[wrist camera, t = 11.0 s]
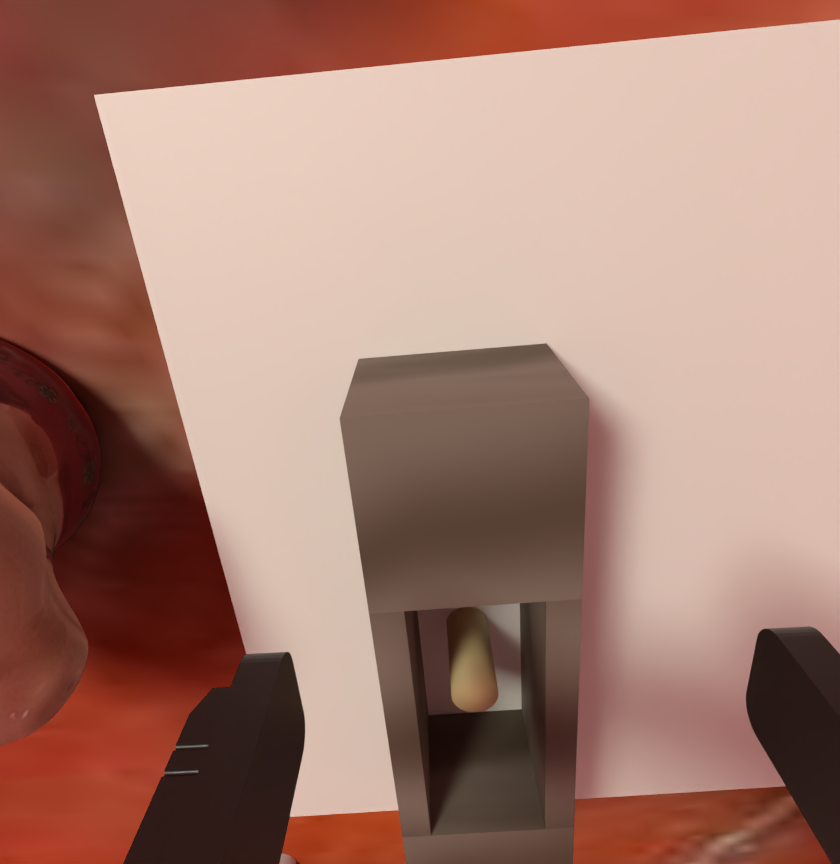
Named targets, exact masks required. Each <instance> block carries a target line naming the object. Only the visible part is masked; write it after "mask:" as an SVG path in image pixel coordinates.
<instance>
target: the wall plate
mask: <svg viewBox="0 0 840 864" xmlns="http://www.w3.org/2000/svg"><path fill="white" fill-rule="evenodd" d="M94 97H95V101H96V104H97V108H98V112H99V115H100V119H101V123H102V126H103V130H104V134H105V137H106V141H107V145H108V148H109V152H110V156H111V159H112V163H113V167H114V170H115V174H116V178H117V181H118V185H119V189H120V192H121V196H122V200H123V203H124V207H125V211H126V215H127V218H128V222H129V226H130V229H131V233H132V237H133V240H134V244H135V248H136V251H137V255H138V259H139V262H140V266H141V270H142V273H143V277H144V281H145V284H146V288H147V292H148V295H149V299H150V303H151V306H152V310H153V314H154V317H155V321H156V325H157V328H158V332H159V336H160V339H161V343H162V347H163V350H164V354H165V358H166V361H167V365H168V369H169V372H170V376H171V380H172V383H173V387H174V391H175V394H176V398H177V402H178V405H179V409H180V413H181V416H182V420H183V424H184V428H185V431H186V435H187V439H188V442H189V446H190V450H191V453H192V457H193V461H194V464H195V468H196V472H197V475H198V479H199V483H200V486H201V490H202V494H203V497H204V501H205V505H206V508H207V512H208V516H209V519H210V523H211V527H212V530H213V534H214V538H215V541H216V545H217V549H218V552H219V556H220V560H221V563H222V567H223V571H224V574H225V578H226V582H227V585H228V589H229V593H230V596H231V600H232V604H233V607H234V611H235V615H236V618H237V622H238V626H239V630H240V633H241V637H242V641H243V644H244V648H245V652H246V654H256V653H275V652H289V653H290V654H291V656H292V660H293V664H294V669H295V673H296V678H297V683H298V687H299V692H300V697H301V701H302V706H303V711H304V717H305V743H304V751H303V756H302V761H301V766H300V770H299V775H298V779H297V784H296V789H295V793H294V798H293V803H292V807H291V812H290V817H294V816H311V815H327V814H343V813H359V812H376V811H392V810H398V803H397V797H396V790H395V783H394V777H393V770H392V764H391V757H390V750H389V744H388V737H387V730H386V724H385V717H384V710H383V704H382V697H381V691H380V684H379V677H378V671H377V664H376V657H375V651H374V644H373V637H372V631H371V624H370V618H369V611H368V604H367V598H366V591H365V584H364V578H363V571H362V564H361V558H360V551H359V545H358V538H357V531H356V525H355V518H354V511H353V505H352V498H351V491H350V485H349V478H348V472H347V465H346V458H345V452H344V445H343V438H342V432H341V425H340V415H341V412H342V409H343V406H344V403H345V400H346V396H347V393H348V390H349V387H350V384H351V381H352V378H353V375H354V371H355V368H356V365H357V362H358V359H362V358H374V357H387V356H399V355H411V354H423V353H435V352H447V351H459V350H472V349H484V348H496V347H508V346H520V345H532V344H544V343H547V345H548V346H549V347H550V348H551V350H552V351H553V352H554V354H555V355H556V356H557V357H558V359H559V360H560V361H561V363H562V364H563V365H564V367H565V368H566V369H567V370H568V372H569V373H570V374H571V376H572V377H573V378H574V379H575V381H576V382H577V383H578V385H579V386H580V387H581V389H582V390H583V391H584V392H585V394H586V395H587V396H588V398H589V419H588V447H587V475H586V503H585V531H584V559H583V587H582V615H581V643H580V671H579V699H578V727H577V755H576V783H575V799H587V798H603V797H619V796H635V795H652V794H668V793H684V792H700V791H717V790H733V789H749V788H765V787H782V786H785V784H784V782H783V781H782V779H781V777H780V775H779V774H778V772H777V770H776V769H775V767H774V765H773V764H772V762H771V760H770V759H769V757H768V755H767V754H766V752H765V750H764V748H763V747H762V745H761V743H760V742H759V740H758V738H757V737H756V735H755V733H754V731H753V729H752V726H751V723H750V720H749V717H748V713H747V708H746V691H747V686H748V681H749V676H750V671H751V666H752V661H753V656H754V650H755V645H756V640H757V636H758V634H759V632H760V631H761V630H762V629H768V628H787V627H806V626H810V627H813V628H815V629H817V630H818V631H820V632H821V633H822V634H823V636H824V637H825V638H826V639H827V640H828V641H829V642H830V644H831V645H832V646H833V647H834V648H835V649H836V650H837V652H838V653H839V654H840V20H831V21H822V22H812V23H802V24H792V25H782V26H772V27H762V28H752V29H742V30H733V31H723V32H713V33H703V34H693V35H683V36H673V37H663V38H653V39H644V40H634V41H624V42H614V43H604V44H594V45H584V46H574V47H565V48H555V49H545V50H535V51H525V52H515V53H505V54H495V55H485V56H476V57H466V58H456V59H446V60H436V61H426V62H416V63H406V64H396V65H387V66H377V67H367V68H357V69H347V70H337V71H327V72H317V73H307V74H298V75H288V76H278V77H268V78H258V79H248V80H238V81H228V82H219V83H209V84H199V85H189V86H179V87H169V88H159V89H149V90H139V91H130V92H120V93H110V94H100V95H94ZM417 614H418V623H419V633H420V642H421V651H422V660H423V669H424V679H425V688H426V697H427V706H428V715H439V714H454V713H470V712H485V711H501V710H517V709H522V702H521V647H520V603H518V604H503V605H489V606H475V607H460V608H446V609H431V610H417Z"/></svg>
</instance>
